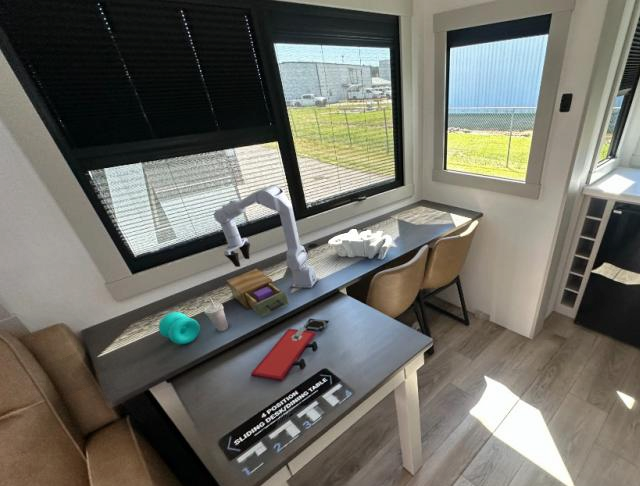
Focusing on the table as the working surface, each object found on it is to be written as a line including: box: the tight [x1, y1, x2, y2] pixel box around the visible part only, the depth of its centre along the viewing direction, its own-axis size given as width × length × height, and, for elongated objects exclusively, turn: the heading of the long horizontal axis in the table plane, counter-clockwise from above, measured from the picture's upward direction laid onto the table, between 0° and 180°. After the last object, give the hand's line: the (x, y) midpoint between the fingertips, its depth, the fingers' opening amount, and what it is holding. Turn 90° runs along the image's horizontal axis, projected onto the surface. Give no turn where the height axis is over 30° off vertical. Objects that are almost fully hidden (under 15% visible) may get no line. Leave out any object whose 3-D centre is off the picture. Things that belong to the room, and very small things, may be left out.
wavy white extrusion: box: [328, 229, 393, 260], centre depth 167 cm, size 35×16×11 cm, turn 71°
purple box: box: [254, 287, 273, 303], centre depth 130 cm, size 4×6×6 cm
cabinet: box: [226, 268, 275, 310], centre depth 138 cm, size 16×14×8 cm
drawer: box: [244, 283, 290, 319], centre depth 129 cm, size 19×12×6 cm, turn 45°
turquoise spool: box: [158, 311, 201, 345], centre depth 115 cm, size 10×10×10 cm
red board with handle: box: [250, 318, 330, 382], centre depth 109 cm, size 30×3×15 cm
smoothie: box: [203, 296, 229, 332], centre depth 118 cm, size 6×6×14 cm
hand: (242, 262), depth 146 cm, fingers open, 7 cm apart
